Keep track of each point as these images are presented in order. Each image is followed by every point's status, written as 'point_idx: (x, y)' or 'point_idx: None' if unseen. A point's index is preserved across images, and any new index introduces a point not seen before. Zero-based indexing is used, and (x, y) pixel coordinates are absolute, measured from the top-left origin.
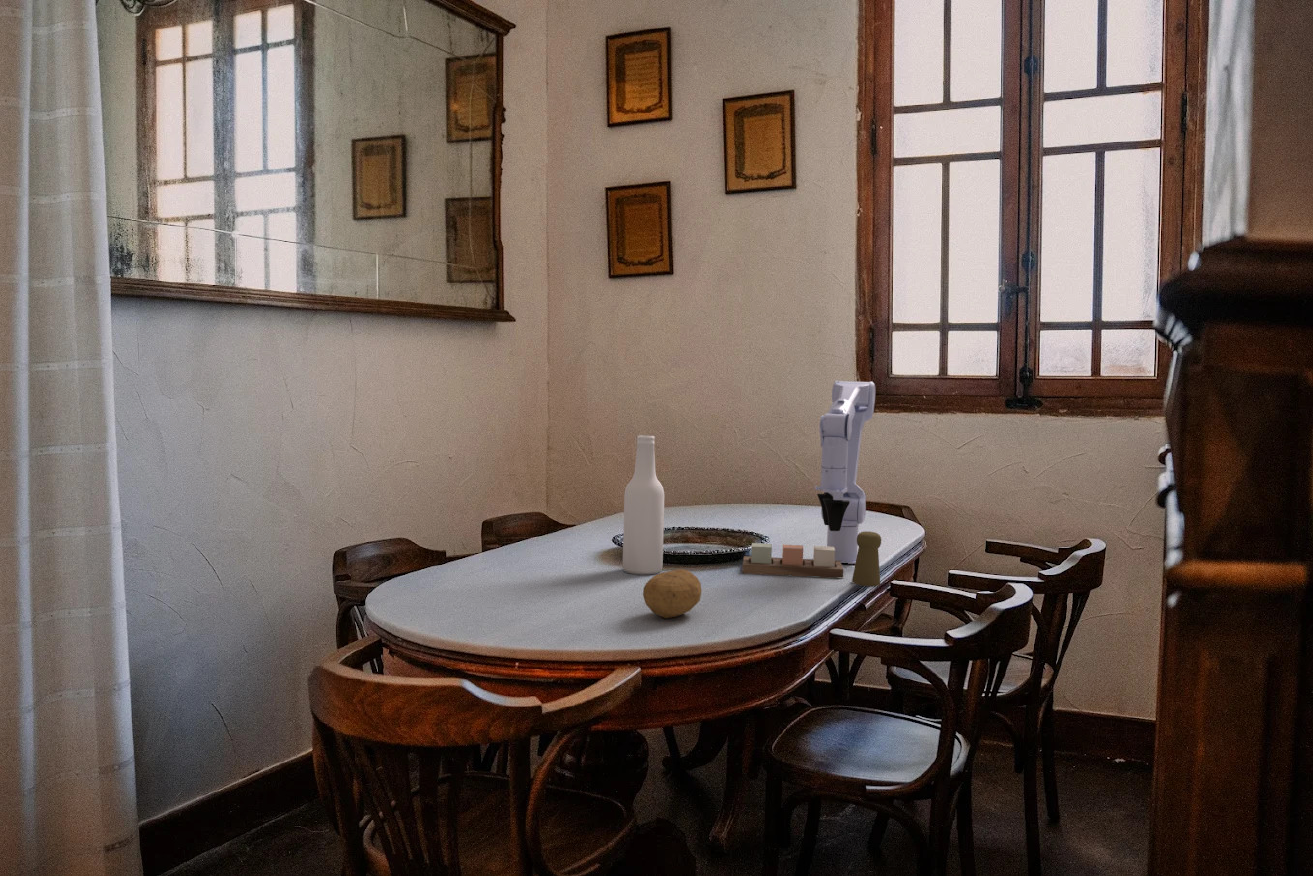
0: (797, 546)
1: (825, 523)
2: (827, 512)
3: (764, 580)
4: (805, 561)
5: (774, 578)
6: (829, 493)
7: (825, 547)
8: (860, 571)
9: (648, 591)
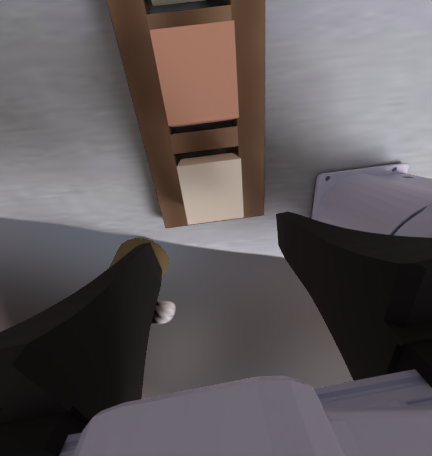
0: (209, 97)
1: (278, 218)
2: (95, 288)
3: (22, 6)
4: (228, 130)
5: (74, 43)
6: (370, 380)
7: (224, 195)
8: (109, 267)
9: None
